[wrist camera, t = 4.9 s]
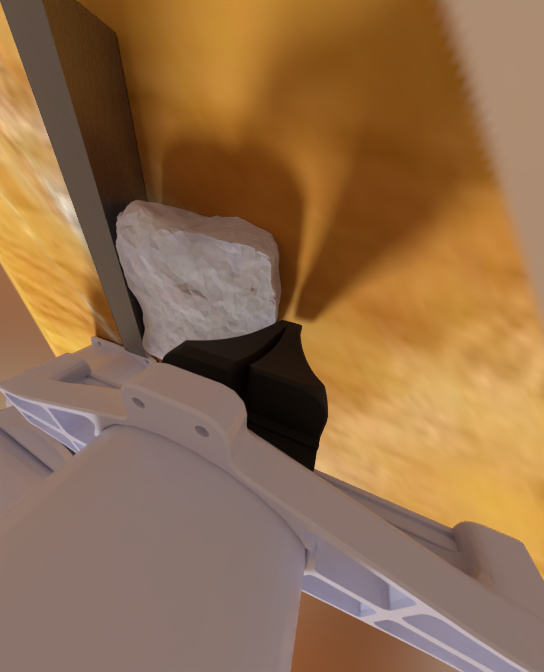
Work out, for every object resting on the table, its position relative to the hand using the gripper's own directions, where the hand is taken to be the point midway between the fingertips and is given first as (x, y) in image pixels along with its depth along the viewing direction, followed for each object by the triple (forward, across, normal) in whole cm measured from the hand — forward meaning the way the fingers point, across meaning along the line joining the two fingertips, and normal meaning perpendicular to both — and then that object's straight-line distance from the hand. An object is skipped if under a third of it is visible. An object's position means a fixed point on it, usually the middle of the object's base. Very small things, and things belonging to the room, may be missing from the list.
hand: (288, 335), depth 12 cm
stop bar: (+1, +12, -4) cm, 13 cm away
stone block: (+2, +6, 0) cm, 6 cm away
